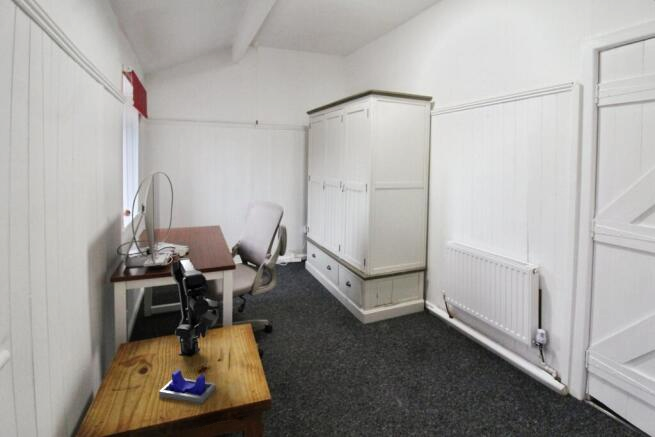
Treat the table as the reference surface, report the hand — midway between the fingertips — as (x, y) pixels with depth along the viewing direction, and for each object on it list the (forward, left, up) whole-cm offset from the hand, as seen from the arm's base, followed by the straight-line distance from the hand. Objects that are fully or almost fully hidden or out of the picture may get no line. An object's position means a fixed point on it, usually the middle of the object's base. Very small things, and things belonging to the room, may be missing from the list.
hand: (197, 342), depth 144 cm
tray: (+4, -13, -12) cm, 18 cm away
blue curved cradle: (+4, -13, -12) cm, 18 cm away
